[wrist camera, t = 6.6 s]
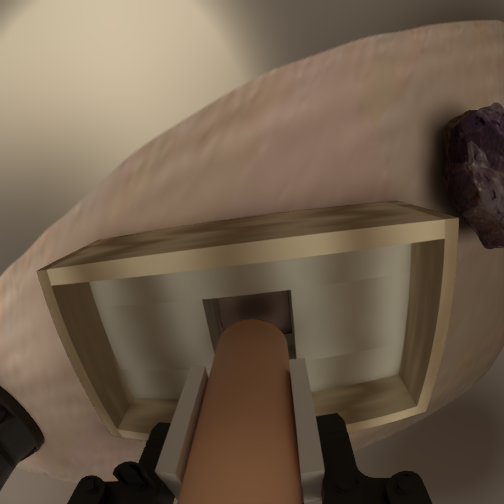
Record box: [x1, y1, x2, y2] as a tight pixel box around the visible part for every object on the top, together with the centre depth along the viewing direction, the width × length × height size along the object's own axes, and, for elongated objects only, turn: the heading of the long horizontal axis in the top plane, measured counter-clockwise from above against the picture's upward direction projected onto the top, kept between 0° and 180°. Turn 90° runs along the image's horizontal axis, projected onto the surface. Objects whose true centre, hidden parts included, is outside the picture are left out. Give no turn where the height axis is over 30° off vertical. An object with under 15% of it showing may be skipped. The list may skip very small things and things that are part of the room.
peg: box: [177, 319, 304, 504], centre depth 10 cm, size 4×4×15 cm
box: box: [37, 201, 459, 441], centre depth 19 cm, size 24×14×8 cm, turn 98°
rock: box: [443, 103, 504, 249], centre depth 15 cm, size 12×9×10 cm
